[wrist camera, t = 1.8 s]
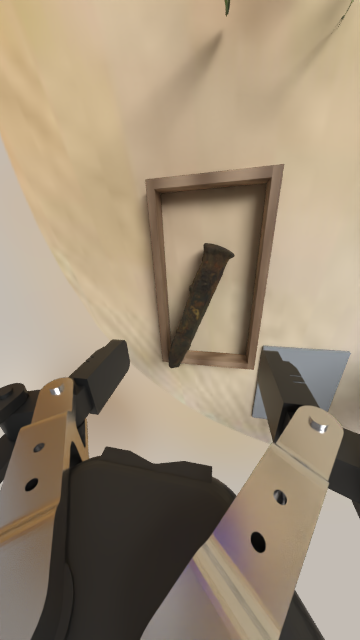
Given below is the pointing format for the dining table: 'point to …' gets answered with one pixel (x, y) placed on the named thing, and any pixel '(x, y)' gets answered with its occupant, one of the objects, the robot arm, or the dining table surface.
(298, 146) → the dining table surface
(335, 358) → the mat
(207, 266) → the hand tool
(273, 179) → the wooden frame
